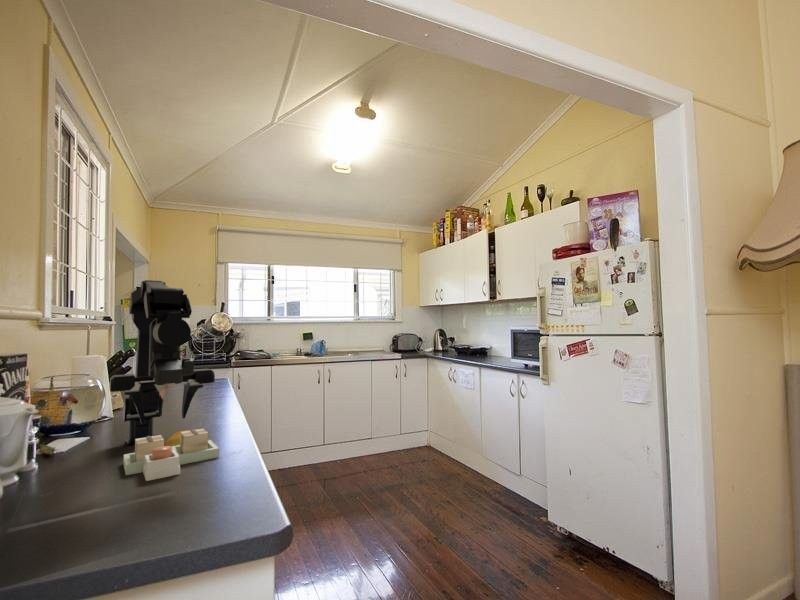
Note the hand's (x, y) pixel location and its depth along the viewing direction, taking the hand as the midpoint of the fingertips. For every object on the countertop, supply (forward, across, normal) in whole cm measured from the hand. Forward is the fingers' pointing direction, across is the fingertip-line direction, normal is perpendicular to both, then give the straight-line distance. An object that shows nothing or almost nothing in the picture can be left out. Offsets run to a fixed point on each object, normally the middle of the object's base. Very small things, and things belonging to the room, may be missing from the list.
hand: (163, 420), depth 85 cm
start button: (+8, 0, 0) cm, 8 cm away
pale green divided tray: (+11, +3, +8) cm, 14 cm away
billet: (+11, +7, +8) cm, 15 cm away
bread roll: (+12, +7, +21) cm, 25 cm away
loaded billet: (+11, -2, +8) cm, 13 cm away
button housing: (+11, 0, 0) cm, 11 cm away
